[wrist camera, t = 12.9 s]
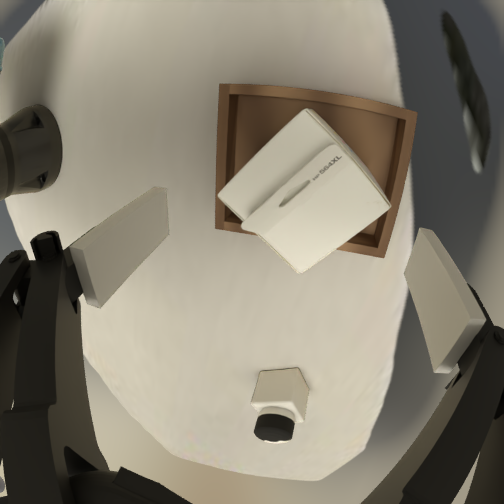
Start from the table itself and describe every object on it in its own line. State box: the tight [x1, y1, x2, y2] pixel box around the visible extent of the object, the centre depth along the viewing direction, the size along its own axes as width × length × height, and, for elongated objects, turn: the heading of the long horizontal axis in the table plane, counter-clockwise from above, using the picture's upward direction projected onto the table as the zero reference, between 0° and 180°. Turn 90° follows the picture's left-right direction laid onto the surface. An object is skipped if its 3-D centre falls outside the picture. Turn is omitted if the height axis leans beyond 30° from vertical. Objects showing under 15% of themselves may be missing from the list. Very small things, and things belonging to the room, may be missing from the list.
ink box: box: [218, 108, 391, 274], centre depth 22 cm, size 9×8×13 cm
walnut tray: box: [215, 84, 417, 258], centre depth 27 cm, size 18×15×4 cm
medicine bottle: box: [251, 368, 309, 444], centre depth 42 cm, size 7×7×12 cm
